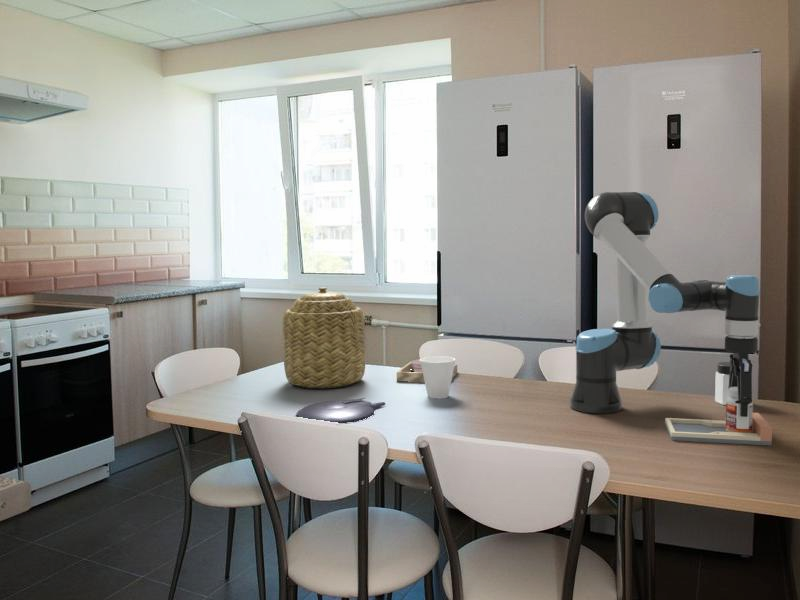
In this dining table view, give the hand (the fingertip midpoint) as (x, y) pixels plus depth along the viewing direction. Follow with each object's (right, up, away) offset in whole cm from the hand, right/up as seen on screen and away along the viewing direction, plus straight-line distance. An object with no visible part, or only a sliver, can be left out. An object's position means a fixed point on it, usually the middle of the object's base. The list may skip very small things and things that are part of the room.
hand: (738, 423), depth 176 cm
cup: (-75, 0, +50) cm, 90 cm away
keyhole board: (-5, -3, +2) cm, 6 cm away
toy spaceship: (-105, -3, +33) cm, 110 cm away
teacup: (-79, +2, +81) cm, 113 cm away
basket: (-114, +1, +75) cm, 137 cm away
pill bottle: (0, -2, 0) cm, 2 cm away
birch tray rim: (-77, +3, +81) cm, 111 cm away
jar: (+14, 0, +34) cm, 37 cm away
